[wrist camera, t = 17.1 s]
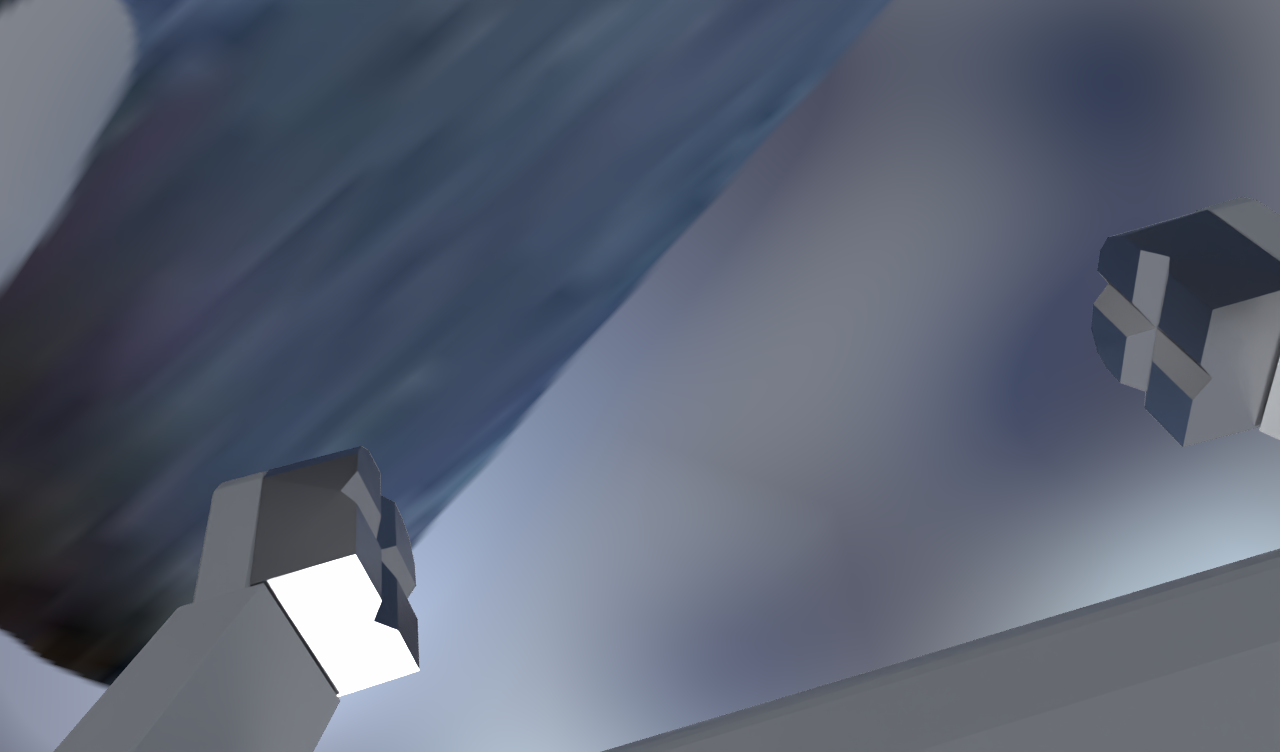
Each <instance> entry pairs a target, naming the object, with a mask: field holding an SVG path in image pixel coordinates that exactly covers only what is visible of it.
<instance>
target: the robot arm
mask: <svg viewBox="0 0 1280 752" xmlns="http://www.w3.org/2000/svg"><path fill="white" fill-rule="evenodd" d="M1098 272H1099V273H1100V274H1101V275H1102V276H1103V277H1104V279H1105V280H1106V281H1107V282H1108V283H1109V284H1108V285H1107V286H1106V288H1105V289H1104V290H1103V292H1102V293H1101V295H1100V296H1099V297H1098V298H1097V300H1096V301H1095V303H1094V304H1093V315H1092V327H1091V329H1092V333H1093V337H1094V341H1095V345H1096V349H1097V352H1098V354H1099V356H1100V358H1101V359H1102V361H1103V363H1104V364H1105V366H1106V368H1107V369H1108V370H1109V371H1110V372H1111V374H1112V375H1113V376H1114V377H1115V378H1116V379H1117V380H1118V381H1119V382H1120V383H1122V384H1125V385H1128V386H1131V387H1134V388H1137V389H1140V390H1142V391H1145V392H1146V396H1145V409H1146V410H1147V411H1148V412H1149V413H1150V414H1151V415H1152V416H1153V417H1154V418H1155V419H1156V420H1157V421H1158V422H1159V423H1160V424H1161V425H1162V426H1163V427H1164V429H1165V430H1167V431H1168V433H1169V434H1170V435H1171V436H1172V437H1174V439H1175V440H1176V441H1177V442H1178V443H1179V444H1180V445H1181V446H1182V447H1186V446H1190V445H1193V444H1197V443H1201V442H1205V441H1208V440H1212V439H1216V438H1220V437H1224V436H1227V435H1231V434H1235V433H1239V432H1243V431H1246V430H1250V429H1254V428H1258V427H1260V429H1259V431H1261V432H1263V433H1265V434H1268V435H1270V436H1272V437H1274V438H1276V439H1279V440H1280V215H1279V214H1277V213H1276V212H1274V211H1273V210H1271V209H1270V208H1268V207H1267V206H1265V205H1263V204H1262V203H1261V202H1259V201H1257V200H1254V199H1249V198H1244V197H1240V198H1236V199H1233V200H1230V201H1227V202H1223V203H1220V204H1217V205H1213V206H1210V207H1207V208H1203V209H1200V210H1197V211H1196V212H1195V213H1192V214H1188V215H1185V216H1181V217H1177V218H1174V219H1171V220H1167V221H1163V222H1160V223H1157V224H1153V225H1150V226H1146V227H1143V228H1139V229H1136V230H1132V231H1129V232H1125V233H1122V234H1118V235H1115V236H1111V237H1108V238H1107V240H1106V241H1105V243H1104V245H1103V247H1102V249H1101V251H1100V256H1099V263H1098ZM415 586H416V578H415V565H414V559H413V554H412V549H411V544H410V539H409V536H408V533H407V530H406V527H405V525H404V522H403V519H402V517H401V514H400V512H399V510H398V508H397V506H396V504H395V502H393V501H391V500H389V499H387V498H385V497H383V496H381V482H380V471H379V469H378V467H377V466H376V464H375V462H374V460H373V458H372V456H371V454H370V452H369V450H367V449H365V448H364V447H362V446H360V447H356V448H352V449H348V450H344V451H340V452H336V453H332V454H329V455H325V456H321V457H317V458H313V459H309V460H305V461H301V462H297V463H294V464H290V465H286V466H282V467H278V468H274V469H270V470H269V471H268V472H261V473H257V474H253V475H249V476H246V477H242V478H238V479H234V480H231V481H227V482H223V483H221V484H220V485H219V486H218V487H217V489H216V490H215V491H214V493H213V496H212V502H211V507H210V512H209V518H208V523H207V529H206V534H205V539H204V545H203V550H202V556H201V561H200V566H199V572H198V577H197V583H196V588H195V594H194V599H193V603H191V604H188V605H185V606H181V607H178V608H177V610H176V611H175V612H174V613H173V614H172V615H171V617H170V618H169V619H168V620H167V621H166V622H165V623H164V625H163V626H162V627H161V628H160V629H159V630H158V632H157V633H156V634H155V635H154V636H153V637H152V638H151V640H150V641H149V642H148V643H147V644H146V645H145V647H144V648H143V649H142V650H141V651H140V652H139V653H138V655H137V656H136V657H135V658H134V659H133V660H132V662H131V663H130V664H129V665H128V666H127V667H126V669H125V670H124V671H123V672H122V673H121V674H120V675H119V677H118V678H117V679H116V680H115V681H114V682H113V684H112V685H111V686H110V687H109V688H108V689H107V690H106V692H105V693H104V694H103V695H102V696H101V697H100V699H99V700H98V701H97V702H96V703H95V704H94V706H93V707H92V708H91V709H90V710H89V711H88V712H87V714H86V715H85V716H84V717H83V718H82V719H81V721H80V722H79V723H78V724H77V725H76V726H75V727H74V729H73V730H72V731H71V732H70V733H69V735H68V736H67V737H66V738H65V739H64V740H63V741H62V742H61V744H60V745H59V746H58V747H57V748H56V749H55V751H54V752H313V751H314V749H315V747H316V746H317V744H318V742H319V740H320V738H321V736H322V734H323V732H324V730H325V729H326V727H327V725H328V723H329V721H330V719H331V717H332V715H333V714H334V712H335V710H336V708H337V706H338V704H339V702H340V700H339V698H338V696H342V695H345V694H348V693H351V692H354V691H357V690H360V689H363V688H366V687H370V686H373V685H376V684H379V683H382V682H385V681H388V680H392V679H395V678H398V677H401V676H404V675H407V674H410V673H413V672H416V671H419V649H418V648H419V647H418V621H417V620H418V619H417V617H416V615H415V613H414V611H413V609H412V607H411V605H410V603H409V601H408V599H407V598H408V597H409V595H410V594H411V592H412V591H413V589H414V588H415ZM602 752H1280V549H1277V550H1274V551H1270V552H1267V553H1263V554H1260V555H1257V556H1253V557H1250V558H1247V559H1244V560H1240V561H1237V562H1233V563H1230V564H1226V565H1223V566H1220V567H1216V568H1213V569H1210V570H1207V571H1203V572H1200V573H1196V574H1193V575H1190V576H1187V577H1183V578H1180V579H1176V580H1173V581H1170V582H1166V583H1163V584H1160V585H1156V586H1153V587H1150V588H1147V589H1143V590H1140V591H1137V592H1133V593H1130V594H1127V595H1123V596H1120V597H1116V598H1113V599H1110V600H1106V601H1103V602H1099V603H1096V604H1093V605H1090V606H1086V607H1083V608H1079V609H1076V610H1073V611H1069V612H1066V613H1063V614H1059V615H1056V616H1053V617H1049V618H1046V619H1043V620H1039V621H1036V622H1033V623H1030V624H1026V625H1023V626H1019V627H1016V628H1013V629H1009V630H1006V631H1003V632H1000V633H996V634H993V635H989V636H986V637H983V638H979V639H976V640H973V641H970V642H966V643H963V644H959V645H956V646H952V647H949V648H946V649H943V650H939V651H936V652H932V653H929V654H926V655H922V656H919V657H916V658H912V659H909V660H906V661H903V662H899V663H896V664H892V665H889V666H886V667H882V668H879V669H876V670H872V671H869V672H866V673H862V674H859V675H856V676H852V677H849V678H846V679H842V680H839V681H836V682H832V683H829V684H826V685H822V686H819V687H816V688H813V689H809V690H806V691H802V692H799V693H796V694H792V695H789V696H785V697H782V698H779V699H775V700H772V701H769V702H765V703H762V704H759V705H755V706H752V707H749V708H745V709H742V710H739V711H736V712H732V713H729V714H726V715H722V716H719V717H715V718H712V719H709V720H705V721H702V722H699V723H696V724H692V725H689V726H686V727H682V728H679V729H675V730H672V731H669V732H666V733H662V734H659V735H656V736H652V737H649V738H646V739H642V740H639V741H635V742H632V743H629V744H625V745H622V746H619V747H615V748H612V749H609V750H605V751H602Z"/></svg>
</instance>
